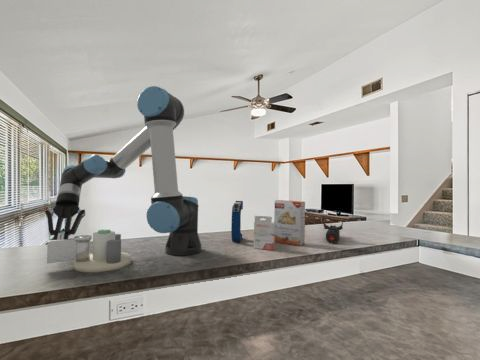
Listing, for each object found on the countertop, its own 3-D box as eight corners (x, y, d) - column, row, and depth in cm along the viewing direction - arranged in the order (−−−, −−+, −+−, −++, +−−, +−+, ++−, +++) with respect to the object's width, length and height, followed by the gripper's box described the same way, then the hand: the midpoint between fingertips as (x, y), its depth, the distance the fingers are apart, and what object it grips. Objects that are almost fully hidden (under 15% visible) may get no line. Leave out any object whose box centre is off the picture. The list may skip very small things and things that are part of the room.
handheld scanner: (243, 237, 146) (243, 200, 147) (240, 244, 130) (240, 203, 131) (234, 237, 147) (234, 200, 147) (231, 243, 131) (230, 202, 131)
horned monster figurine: (343, 237, 153) (343, 219, 153) (342, 245, 132) (342, 224, 132) (325, 235, 156) (325, 218, 156) (321, 243, 135) (321, 223, 135)
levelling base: (130, 255, 108) (130, 224, 108) (132, 268, 92) (132, 231, 92) (77, 259, 101) (78, 226, 101) (69, 275, 84) (70, 235, 84)
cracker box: (273, 242, 136) (274, 200, 136) (278, 240, 141) (279, 199, 141) (300, 246, 128) (300, 201, 128) (304, 244, 133) (305, 201, 133)
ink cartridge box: (274, 247, 124) (275, 215, 124) (271, 250, 119) (272, 216, 120) (256, 246, 127) (257, 214, 127) (253, 248, 123) (253, 215, 123)
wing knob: (90, 257, 97) (90, 234, 97) (92, 260, 93) (92, 237, 93) (47, 262, 90) (47, 238, 90) (46, 266, 86) (47, 241, 86)
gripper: (88, 203, 112) (82, 255, 97) (49, 204, 107) (36, 258, 91) (87, 191, 107) (80, 243, 92) (46, 191, 102) (32, 246, 86)
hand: (58, 251), depth 92 cm, fingers closed
